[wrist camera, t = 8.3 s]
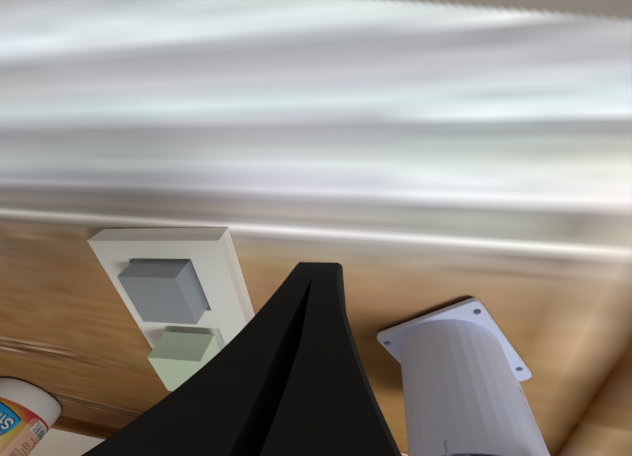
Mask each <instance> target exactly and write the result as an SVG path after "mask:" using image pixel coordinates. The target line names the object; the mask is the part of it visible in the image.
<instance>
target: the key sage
mask: <svg viewBox="0 0 632 456" xmlns="http://www.w3.org/2000/svg"><path fill="white" fill-rule="evenodd" d="M220 351H221V350H220V347H219V345H218V343H217V340H216V338H215V336H214V335H209V334H193V333H177V332H165V333H164V334H163V336H162V337H161V338H160V340H159V341H158V343H157V344H156V346H155V347H154V348H153V350H152V351H151V353H150V354H149V356H148V357H147V358H148V360H149V361H150V363H151V364H152V366H153V368H154V369H155V371H156V372H157V374H158V375H159V377H160V379H161V380H162V382H163V383H164V385H165V387H166V388H167V390H168V391H174V390H175V389H176V388H178V387H179V386H180V385H181V384H183V383H184V382H185V381H186V380H188V379H189V378H190V377H191V376H192V375H194V374H195V373H196V372H197V371H198V370H200V369H201V368H202V367H203V366H204V365H205V364H207V363H208V362H209V361H210V360H211V359H212V358H213V357H214V356H215V355H216V354H218V353H219V352H220Z"/></svg>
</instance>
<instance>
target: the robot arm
mask: <svg viewBox="0 0 632 456" xmlns="http://www.w3.org/2000/svg"><path fill="white" fill-rule="evenodd" d="M475 309H478V310H475ZM377 340H378V341H379V343H380V344H381V345H382V346H383V347H384V348H385V349H386V350H387V351H388V352H389V353H390V354H391V355H392V356H393V357H394V358H395V359H396V360H397V361H398V362H399V363H400V364H401V371H402V383H403V395H404V407H405V420H406V432H407V444H408V456H550V455H549V452H548V450H547V448H546V445H545V443H544V440H543V438H542V436H541V433H540V431H539V428H538V426H537V424H536V421H535V419H534V416H533V414H532V411H531V409H530V407H529V404H528V402H527V399H526V397H525V395H524V392H523V390H522V387H521V385H520V383H519V381H523V380H527V379H529V378H531V376H532V375H531V373H530V370H529V369H528V368H527V366H526V365H525V363H524V362H523V361H522V359H521V358H520V357H519V355H518V354H517V352H516V351H515V350H514V348H513V347H512V345H511V344H510V343H509V341H508V340H507V338H506V337H505V336H504V334H503V333H502V331H501V330H500V329H499V327H498V326H497V324H496V323H495V322H494V320H493V319H492V317H491V316H490V315H489V313H488V312H487V311H486V309H485V308H484V306H483V305H482V304H481V302H480V301H479V300H478V299H476V298H470V299H467V300H464V301H461V302H459V303H456V304H453V305H451V306H448V307H445V308H443V309H440V310H437V311H435V312H432V313H429V314H427V315H424V316H421V317H419V318H416V319H413V320H410V321H408V322H405V323H402V324H400V325H397V326H394V327H392V328H389V329H386V330H384V331H381V332H379V333H378V334H377ZM81 456H402V455H401V453H400V451H399V449H398V447H397V445H396V442H395V440H394V438H393V436H392V434H391V432H390V429H389V427H388V425H387V423H386V421H385V419H384V416H383V414H382V412H381V410H380V408H379V405H378V403H377V401H376V398H375V396H374V394H373V391H372V389H371V386H370V384H369V381H368V379H367V376H366V374H365V371H364V368H363V366H362V363H361V360H360V357H359V354H358V352H357V349H356V346H355V342H354V339H353V336H352V333H351V329H350V326H349V322H348V318H347V314H346V306H345V294H344V282H343V270H342V265H340V264H339V263H312V262H299V263H298V264H297V265H296V267H295V268H294V269H293V270H292V272H291V273H290V274H289V276H288V277H287V278H286V279H285V281H284V282H283V283H282V284H281V286H280V287H279V288H278V289H277V291H276V292H275V293H274V294H273V295H272V297H271V298H270V299H269V300H268V301H267V302H266V304H265V305H264V306H263V307H262V308H261V310H260V311H259V312H258V313H257V314H256V315H255V316H254V317H253V318H252V319H251V320H250V321H249V323H248V324H247V325H246V326H245V327H244V328H243V329H242V330H241V331H240V332H239V333H238V334H237V335H236V336H235V337H234V338H233V339H232V340H231V341H230V342H229V343H228V344H227V345H226V346H225V347H224V348H223V349H222V350H221V351H220V352H219V353H218V354H216V355H215V356H214V357H213V358H212V359H211V360H210V361H209V362H208V363H207V364H205V365H204V366H203V367H202V368H201V369H200V370H198V371H197V372H196V373H195V374H194V375H192V376H191V377H190V378H189V379H188V380H186V381H185V382H184V383H183V384H181V385H180V386H179V387H178V388H176V389H175V390H174V391H173V392H172V393H170V394H169V395H168V396H166V397H165V398H164V399H163V400H161V401H160V402H158V403H157V404H156V405H154V406H153V407H152V408H150V409H149V410H147V411H146V412H145V413H143V414H142V415H141V416H139V417H138V418H137V419H135V420H134V421H132V422H131V423H130V424H128V425H127V426H125V427H124V428H122V429H121V430H120V431H118V432H117V433H115V434H114V435H112V436H111V437H109V438H108V439H106V440H105V441H103V442H102V443H100V444H99V445H97V446H96V447H94V448H93V449H91V450H89V451H88V452H86V453H84V454H83V455H81Z"/></svg>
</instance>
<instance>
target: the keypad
mask: <svg viewBox="0 0 632 456" xmlns="http://www.w3.org/2000/svg"><path fill="white" fill-rule="evenodd" d="M88 243H89V245H90V246H91V248H92V250H93V251H94V253H95V255H96V256H97V258H98V260H99V261H100V263H101V265H102V266H103V268H104V270H105V271H106V273H107V275H108V276H109V278H110V280H111V281H112V283H113V284H114V286H115V288H116V289H117V291H118V293H119V294H120V296H121V298H122V299H123V301H124V303H125V304H126V306H127V308H128V309H129V311H130V313H131V314H132V316H133V318H134V319H135V321H136V323H137V324H138V326H139V328H140V329H141V331H142V333H143V334H144V336H145V338H146V339H147V341H148V343H149V344H150V346H151V348H152V349H153V348H154V347H155V346H156V344H157V343H158V341H159V340H160V338H161V337H162V336H163V334H164V333H165V332H177V333H193V334H209V335H214V336H215V338H216V340H217V343H218V345H219V347H220V350H222V349H223V348H224V347H225V346H226V345H227V344H228V343H229V342H230V341H231V340H232V339H233V338H234V337H235V336H236V335H237V334H238V333H239V332H240V331H241V330H242V329H243V328H244V327H245V326H246V325H247V324H248V323H249V321H250V320H251V319H252V318H253V317H254V316H255V314H254V311H253V307H252V304H251V301H250V297H249V294H248V291H247V288H246V284H245V281H244V278H243V274H242V271H241V268H240V265H239V261H238V258H237V255H236V251H235V248H234V245H233V242H232V238H231V235H230V232H229V228H228V227H216V228H123V229H103V230H101V231H100V232H99V233H97V234H96V235H95V236H93V237H92V238H90V239H89V240H88ZM136 258H157V259H191V261H192V264H193V266H194V269H195V271H196V274H197V276H198V278H199V281H200V283H201V286H202V288H203V291H204V293H205V296H206V298H207V301H208V303H209V305H208V307H207V308H206V310H205V312H204V313H203V315H202V317H201V318H200V320H199V322H198V323H197V325H195V324H177V323H159V322H143V320H142V319H141V317H140V315H139V314H138V312H137V310H136V308H135V307H134V305H133V303H132V302H131V300H130V298H129V296H128V295H127V293H126V291H125V290H124V288H123V286H122V284H121V283H120V281H119V279H118V278H117V276H118V275H119V274H120V273H121V272H122V271H123V270H124V269H125V268H126V267H127V266H128V265H129V264H131V263H132V262H133V261H134V260H135V259H136Z"/></svg>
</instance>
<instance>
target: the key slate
mask: <svg viewBox="0 0 632 456" xmlns="http://www.w3.org/2000/svg"><path fill="white" fill-rule="evenodd" d="M117 278H118V279H119V281H120V283H121V284H122V286H123V288H124V290H125V291H126V293H127V295H128V296H129V298H130V300H131V302H132V303H133V305H134V307H135V308H136V310H137V312H138V314H139V315H140V317H141V319H142V320H143V322H159V323H177V324H195V325H197V323H198V322H199V320H200V318H201V317H202V315H203V313H204V312H205V310H206V308H207V307H208V305H209V303H208V301H207V298H206V296H205V293H204V291H203V288H202V286H201V283H200V281H199V278H198V276H197V274H196V271H195V269H194V266H193V264H192V261H191V259H157V258H136V259H135V260H134V261H133V262H132V263H131V264H129V265H128V266H127V267H126V268H125V269H124V270H123V271H122V272H121V273H120V274H119V275H118V276H117Z"/></svg>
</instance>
